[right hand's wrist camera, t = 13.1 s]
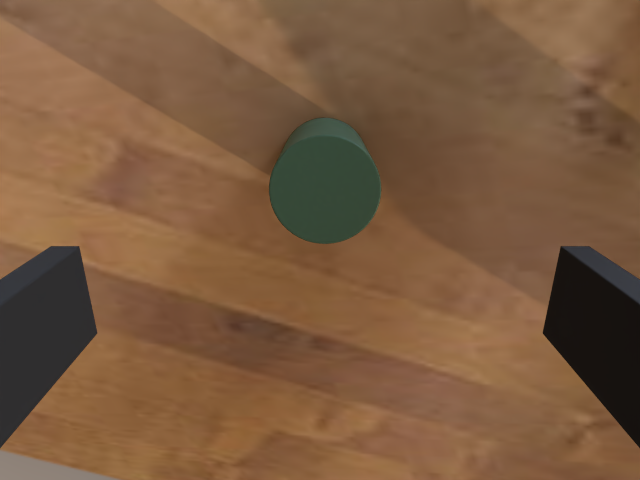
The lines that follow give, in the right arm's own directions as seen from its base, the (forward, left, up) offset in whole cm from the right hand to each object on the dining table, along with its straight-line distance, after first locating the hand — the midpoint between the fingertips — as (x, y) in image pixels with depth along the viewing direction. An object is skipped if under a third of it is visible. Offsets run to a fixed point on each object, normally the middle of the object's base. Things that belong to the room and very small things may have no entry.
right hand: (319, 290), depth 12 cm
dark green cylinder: (0, 0, -19) cm, 19 cm away
